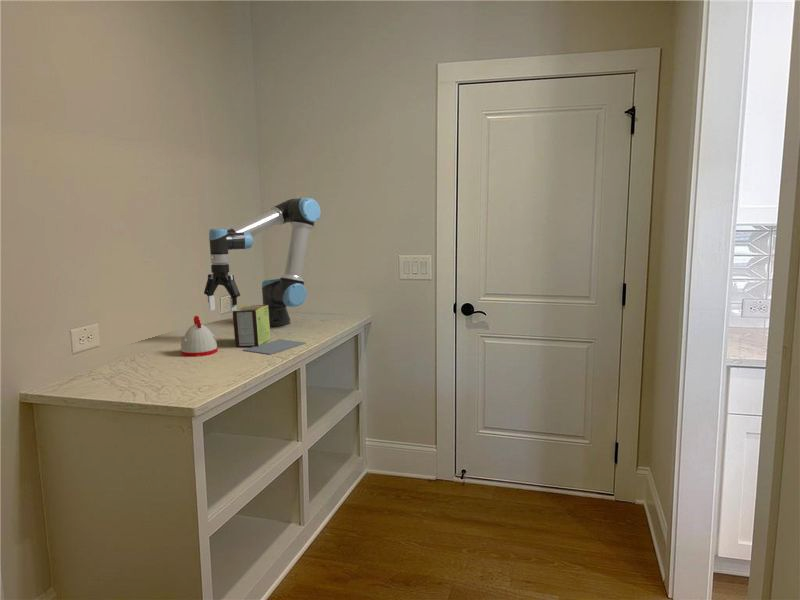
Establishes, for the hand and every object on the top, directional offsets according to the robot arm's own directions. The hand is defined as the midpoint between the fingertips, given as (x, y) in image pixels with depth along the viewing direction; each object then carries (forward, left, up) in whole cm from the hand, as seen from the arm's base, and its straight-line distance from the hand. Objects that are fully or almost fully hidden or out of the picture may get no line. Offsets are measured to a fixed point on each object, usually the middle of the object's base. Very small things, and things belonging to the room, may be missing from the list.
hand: (222, 311), depth 241 cm
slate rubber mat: (+1, +31, -13) cm, 34 cm away
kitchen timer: (+22, +10, -13) cm, 27 cm away
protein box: (0, +18, -13) cm, 22 cm away
